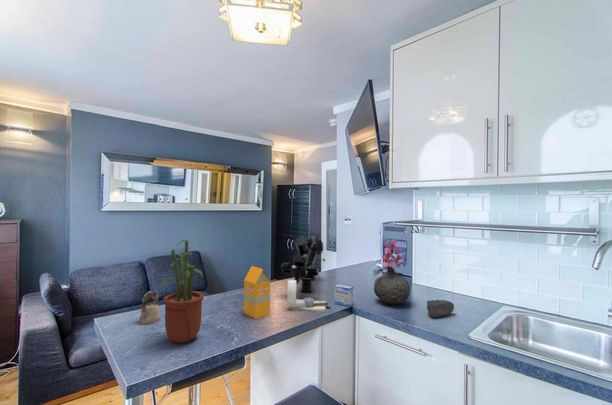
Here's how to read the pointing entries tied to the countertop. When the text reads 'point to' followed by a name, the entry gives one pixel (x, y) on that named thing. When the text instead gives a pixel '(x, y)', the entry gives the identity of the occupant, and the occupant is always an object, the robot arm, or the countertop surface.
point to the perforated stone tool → (439, 308)
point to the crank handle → (292, 297)
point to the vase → (391, 279)
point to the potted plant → (183, 303)
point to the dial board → (315, 308)
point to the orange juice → (256, 293)
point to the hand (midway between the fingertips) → (296, 284)
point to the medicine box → (343, 295)
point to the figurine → (149, 308)
